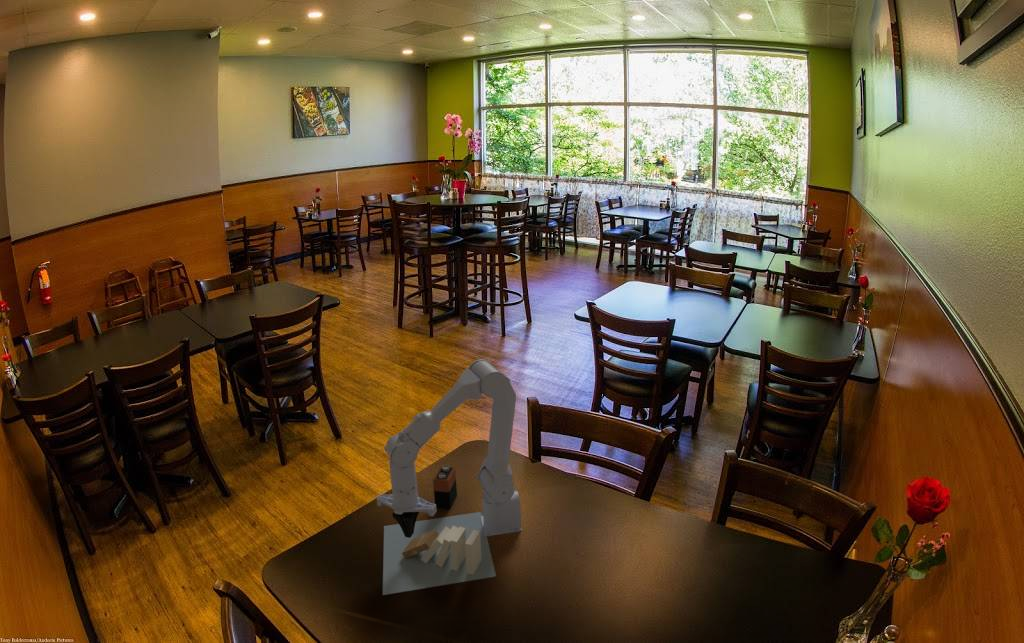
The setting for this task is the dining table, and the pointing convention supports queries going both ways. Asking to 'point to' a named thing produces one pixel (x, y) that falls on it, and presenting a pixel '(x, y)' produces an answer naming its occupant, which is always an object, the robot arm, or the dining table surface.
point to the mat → (424, 575)
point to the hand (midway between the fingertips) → (409, 534)
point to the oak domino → (420, 544)
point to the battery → (445, 487)
